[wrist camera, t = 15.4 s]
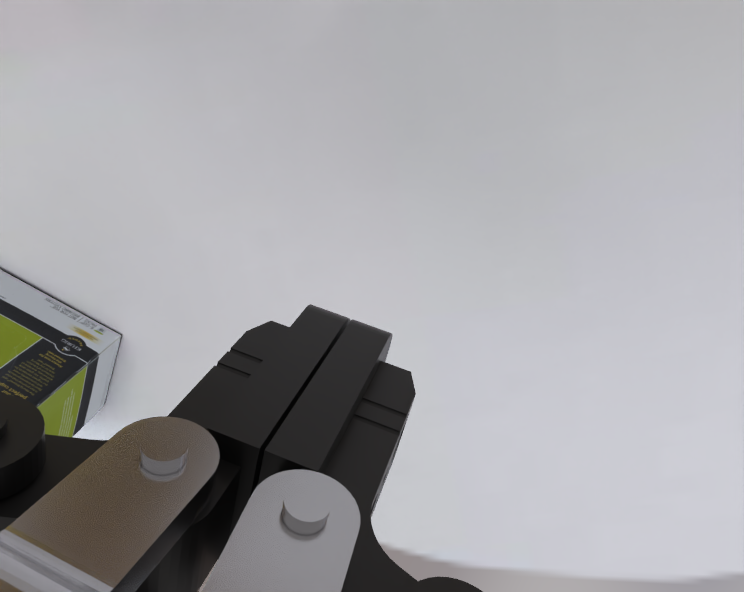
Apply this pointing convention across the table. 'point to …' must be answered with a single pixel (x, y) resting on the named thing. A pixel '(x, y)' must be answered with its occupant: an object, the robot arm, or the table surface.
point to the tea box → (53, 356)
